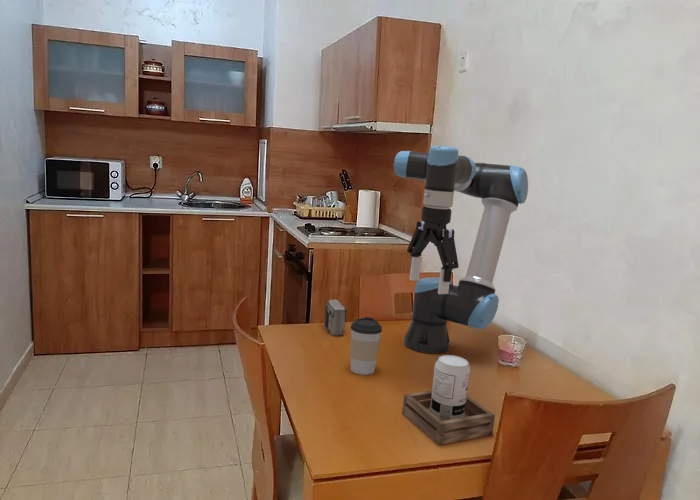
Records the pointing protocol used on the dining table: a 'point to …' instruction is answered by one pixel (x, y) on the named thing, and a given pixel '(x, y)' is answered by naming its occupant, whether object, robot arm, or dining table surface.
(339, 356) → the dining table surface
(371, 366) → the coffee cup
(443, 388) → the supplement can
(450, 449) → the dining table surface
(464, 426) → the crate
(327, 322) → the camera
